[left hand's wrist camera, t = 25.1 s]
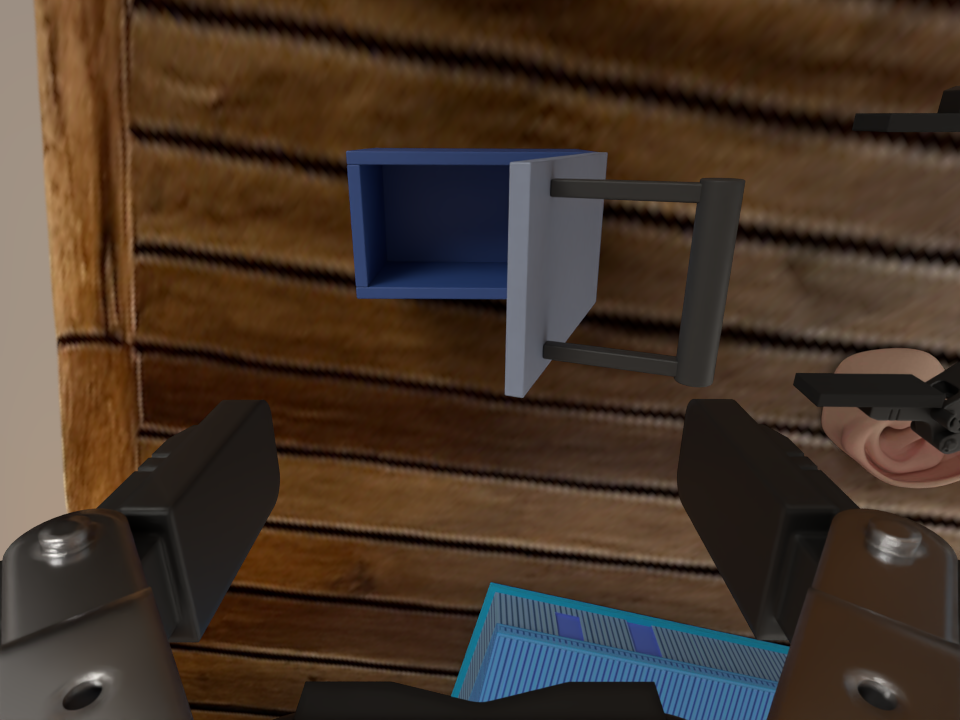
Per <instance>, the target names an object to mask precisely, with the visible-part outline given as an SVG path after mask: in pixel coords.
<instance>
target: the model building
mask: <svg viewBox="0 0 960 720" xmlns="http://www.w3.org/2000/svg"><path fill="white" fill-rule="evenodd" d="M789 648H790V647H788V646H784V645H779V644H775V643H770V642H765V641H761V640H756V639H751V638H747V637H742V636H737V635H733V634H728V633H724V632H719V631H714V630H710V629H705V628H700V627H696V626H691V625H686V624H682V623H677V622H673V621H668V620H663V619H659V618H654V617H649V616H645V615H640V614H635V613H631V612H626V611H622V610H617V609H612V608H608V607H603V606H598V605H594V604H589V603H584V602H580V601H575V600H571V599H566V598H561V597H557V596H552V595H547V594H543V593H538V592H534V591H529V590H524V589H520V588H515V587H510V586H506V585H501V584H496V583H492V582H491V583H490V586H489V589H488V592H487V594H486V597H485V600H484V603H483V606H482V609H481V612H480V615H479V617H478V620H477V623H476V626H475V629H474V632H473V635H472V638H471V640H470V643H469V646H468V649H467V652H466V655H465V658H464V661H463V663H462V666H461V669H460V672H459V675H458V678H457V681H456V683H455V686H454V689H453V692H452V695H451V696H452V697H456V698H460V699H464V700H468V701H474V702H486V701H492V700H496V699H500V698H504V697H508V696H512V695H516V694H520V693H524V692H528V691H532V690H537V689H541V688H545V687H549V686H553V685H557V684H561V683H565V682H655V685H656V688H657V691H658V694H659V698H660V701H661V704H662V707H663V710H664V713H667V714H671V715H675V716H678V717H681V718H684V719H686V720H767V716H768V713H769V710H770V707H771V704H772V701H773V698H774V695H775V691H776V688H777V685H778V682H779V679H780V676H781V673H782V670H783V666H784V663H785V660H786V657H787V654H788V651H789Z"/></svg>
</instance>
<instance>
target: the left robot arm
mask: <svg viewBox="0 0 960 720" xmlns="http://www.w3.org/2000/svg"><path fill="white" fill-rule="evenodd" d="M677 485H678V492H679V497H680V500H681V503H682V505H683V507H684V509H685V510H686V512H687V514H688V516H689V518H690V519H691V521H692V523H693V525H694V527H695V529H696V530H697V532H698V534H699V536H700V538H701V539H702V541H703V543H704V545H705V547H706V549H707V550H708V552H709V554H710V556H711V558H712V559H713V561H714V563H715V565H716V567H717V569H718V570H719V572H720V574H721V576H722V578H723V579H724V581H725V583H726V585H727V587H728V589H729V590H730V592H731V594H732V596H733V598H734V599H735V601H736V603H737V605H738V607H739V609H740V610H741V612H742V614H743V616H744V618H745V619H746V621H747V623H748V625H749V627H750V629H751V630H752V632H753V634H754V636H755V638H756V639H757V640H788V641H789V642H790V644H791V645H790V648H789V651H788V654H787V657H786V660H785V663H784V666H783V670H782V673H781V676H780V679H779V682H778V685H777V688H776V691H775V695H774V698H773V701H772V704H771V707H770V710H769V713H768V716H767V720H960V560H957V556H956V554H955V552H954V550H953V549H952V548H951V546H950V545H949V544H948V543H947V542H946V541H945V540H944V539H942V538H941V537H940V536H938V535H937V534H936V533H934V532H933V531H931V530H929V529H928V528H926V527H924V526H922V525H920V524H918V523H916V522H914V521H912V520H909V519H907V518H904V517H901V516H898V515H896V514H892V513H888V512H884V511H879V510H873V509H860V508H859V507H858V506H857V505H856V504H855V503H854V502H853V501H852V500H851V499H850V498H849V497H848V496H847V495H846V494H845V493H844V492H843V491H842V490H841V489H840V488H839V487H838V486H837V485H836V484H835V483H834V482H833V481H832V480H831V479H830V478H828V477H827V476H826V475H825V474H824V473H823V472H822V471H821V470H818V469H817V466H816V465H815V464H814V463H813V462H812V461H811V460H810V459H809V458H808V457H804V453H803V452H802V451H801V450H800V449H799V448H798V447H797V446H796V445H795V444H794V443H793V442H792V441H791V440H790V439H789V438H787V437H786V436H784V435H782V434H780V433H778V432H776V431H774V430H773V429H771V428H769V427H767V426H765V425H763V424H757V423H756V422H755V420H754V419H753V418H752V417H751V416H750V415H749V414H748V413H747V412H746V411H745V410H744V409H743V408H742V407H741V406H740V405H739V404H738V403H737V402H736V401H735V400H733V399H692V400H691V401H690V402H689V404H688V406H687V409H686V414H685V421H684V428H683V435H682V442H681V449H680V456H679V463H678V471H677ZM279 486H280V472H279V465H278V458H277V451H276V444H275V437H274V430H273V423H272V416H271V411H270V407H269V405H268V403H267V402H266V401H265V400H223V401H221V402H220V403H219V404H218V405H217V406H216V407H215V408H214V409H213V410H212V411H211V412H210V413H209V414H208V416H207V417H206V418H205V419H204V420H203V421H202V422H201V423H200V424H199V425H193V426H191V427H189V428H187V429H185V430H184V431H182V432H180V433H178V434H176V435H174V436H173V437H171V438H169V439H168V440H167V441H166V442H164V443H163V444H162V445H161V446H160V447H159V448H158V449H157V450H156V451H155V452H154V453H153V454H152V458H148V459H147V460H146V461H145V462H144V463H143V464H142V465H141V466H140V467H139V468H138V471H135V472H134V473H132V474H131V475H130V476H129V477H128V478H127V479H126V480H125V481H124V482H123V483H122V484H121V485H120V486H119V487H118V488H117V489H116V490H115V491H114V492H113V493H112V494H111V495H110V496H109V497H108V498H107V499H106V500H105V501H104V502H103V503H102V504H100V505H99V506H98V507H97V508H96V509H87V510H81V511H76V512H72V513H68V514H64V515H62V516H59V517H56V518H53V519H51V520H48V521H46V522H44V523H42V524H40V525H38V526H36V527H34V528H32V529H31V530H29V531H27V532H26V533H24V534H23V535H22V536H20V537H19V538H18V539H16V540H15V541H14V542H13V543H12V544H11V545H10V546H9V548H8V549H7V550H6V552H5V554H4V556H3V560H2V561H0V720H193V716H192V713H191V710H190V707H189V704H188V701H187V698H186V695H185V691H184V688H183V685H182V682H181V679H180V676H179V673H178V670H177V666H176V663H175V660H174V657H173V654H172V651H171V648H170V645H169V642H199V641H200V639H201V637H202V635H203V633H204V632H205V630H206V628H207V626H208V624H209V623H210V621H211V619H212V617H213V615H214V614H215V612H216V610H217V608H218V606H219V605H220V603H221V601H222V599H223V597H224V596H225V594H226V592H227V590H228V588H229V587H230V585H231V583H232V581H233V579H234V578H235V576H236V574H237V572H238V571H239V569H240V567H241V565H242V563H243V562H244V560H245V558H246V556H247V554H248V553H249V551H250V549H251V547H252V545H253V544H254V542H255V540H256V538H257V536H258V535H259V533H260V531H261V529H262V527H263V526H264V524H265V522H266V520H267V518H268V517H269V515H270V513H271V511H272V509H273V508H274V506H275V504H276V501H277V498H278V493H279ZM274 720H686V719H684V718H681V717H678V716H675V715H671V714H667V713H664V710H663V707H662V704H661V701H660V698H659V694H658V691H657V688H656V685H655V682H565V683H561V684H557V685H553V686H549V687H545V688H541V689H537V690H532V691H528V692H524V693H520V694H516V695H512V696H508V697H504V698H500V699H496V700H492V701H486V702H474V701H468V700H464V699H460V698H456V697H452V696H448V695H444V694H440V693H436V692H432V691H428V690H423V689H419V688H415V687H411V686H407V685H403V684H399V683H395V682H305V685H304V688H303V691H302V694H301V698H300V701H299V704H298V707H297V710H296V713H293V714H289V715H285V716H282V717H279V718H276V719H274Z"/></svg>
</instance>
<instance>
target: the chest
mask: <svg viewBox="0 0 960 720" xmlns="http://www.w3.org/2000/svg"><path fill="white" fill-rule="evenodd" d="M584 153H593V151H586V150H578V149H444V148H370V149H361V150H352V151H346V157H347V164H348V165H347V170H348V184H349V197H350V211H351V224H352V238H353V251H354V265H355V278H356V287H357V288H356V291H357V298H361V299H507V271H508V225H509V178H510V162H515V161H524V160H532V159H541V158H550V157H558V156H567V155H576V154H584Z"/></svg>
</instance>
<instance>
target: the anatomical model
mask: <svg viewBox="0 0 960 720" xmlns="http://www.w3.org/2000/svg"><path fill="white" fill-rule="evenodd" d="M943 371H944V369H943V367H942V365H941V364H940V363H939V361H938V360H937V359H936V358H935V357H933V356H932V355H930V354H929V353H926V352H924V351H920V350H916V349H908V348H889V349H878V350H870V351H865V352H860V353H857V354H854V355H851V356H849V357H848V358H846V359H844V360H843V361H842V362H841V363H840V364H839V366H838V367H837V369H836V370H835V373H845V374H912V375H914V376H916V377H917V378H919V379H921V380H922V381H924V382H926V381H928V380H930V379H931V378H933V377H935V376H936V375H938V374H940V373H941V372H943ZM945 400H947V399H945ZM911 422H912V421H896V420H895V421H889V420H888V421H878V420H875V419H873V418H870V417H869V416H867V415H866V414H865V413H864V412H862V411H861V410H860V409H859V408H857V407H823V411H822V417H821V423H822V427H823V430H824V432H825V433H826V434H827V436H828V437H829V438H830V439H831V440H832V441H833V442H834V443H835V444H836V445H837V446H838V447H839V448H840V449H841V450H843V451H844V452H845V453H846V454H847V455H849V456H850V457H851V458H853V459H854V460H855V461H856V462H858V463H859V464H860V465H861V466H862V467H863V468H864V469H866V470H867V471H868V472H869V473H870V474H872V475H873V476H874V477H876V478H878V479H879V480H881V481H883V482H886V483H888V484H891V485H895V486H900V487H907V488H929V487H937V486H942V485H946V484H950V483H953V482H956V481H959V480H960V451H958V452H955V453H952V454H944V453H942V452H940V451H939V450H938V449H936V448H935V447H934V446H932V445H931V444H930V443H928V442H927V441H926V440H924V439H923V438H922V437H920V436H919V435H918V434H916V433H915V432H914V431H912V429H911V428H910V424H911Z"/></svg>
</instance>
